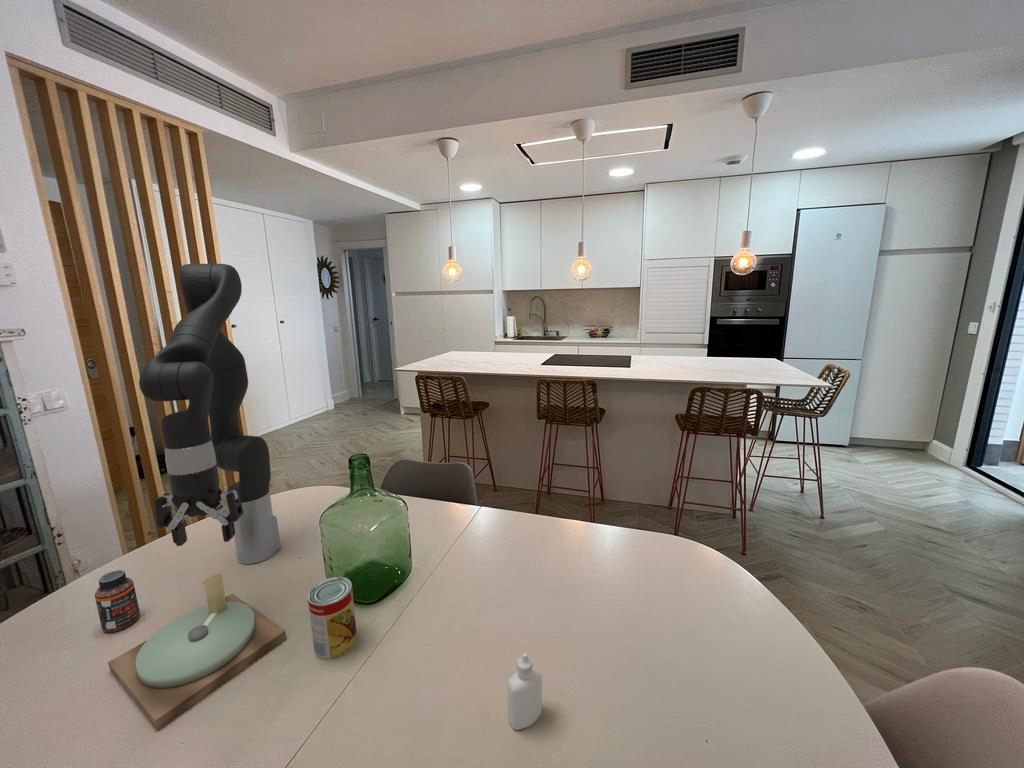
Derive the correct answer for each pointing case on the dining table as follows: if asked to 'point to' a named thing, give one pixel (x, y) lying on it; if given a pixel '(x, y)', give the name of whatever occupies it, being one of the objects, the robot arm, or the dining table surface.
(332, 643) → the canned food
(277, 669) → the dining table surface
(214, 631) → the dial
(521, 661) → the eye dropper bottle
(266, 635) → the base board
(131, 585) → the supplement bottle
